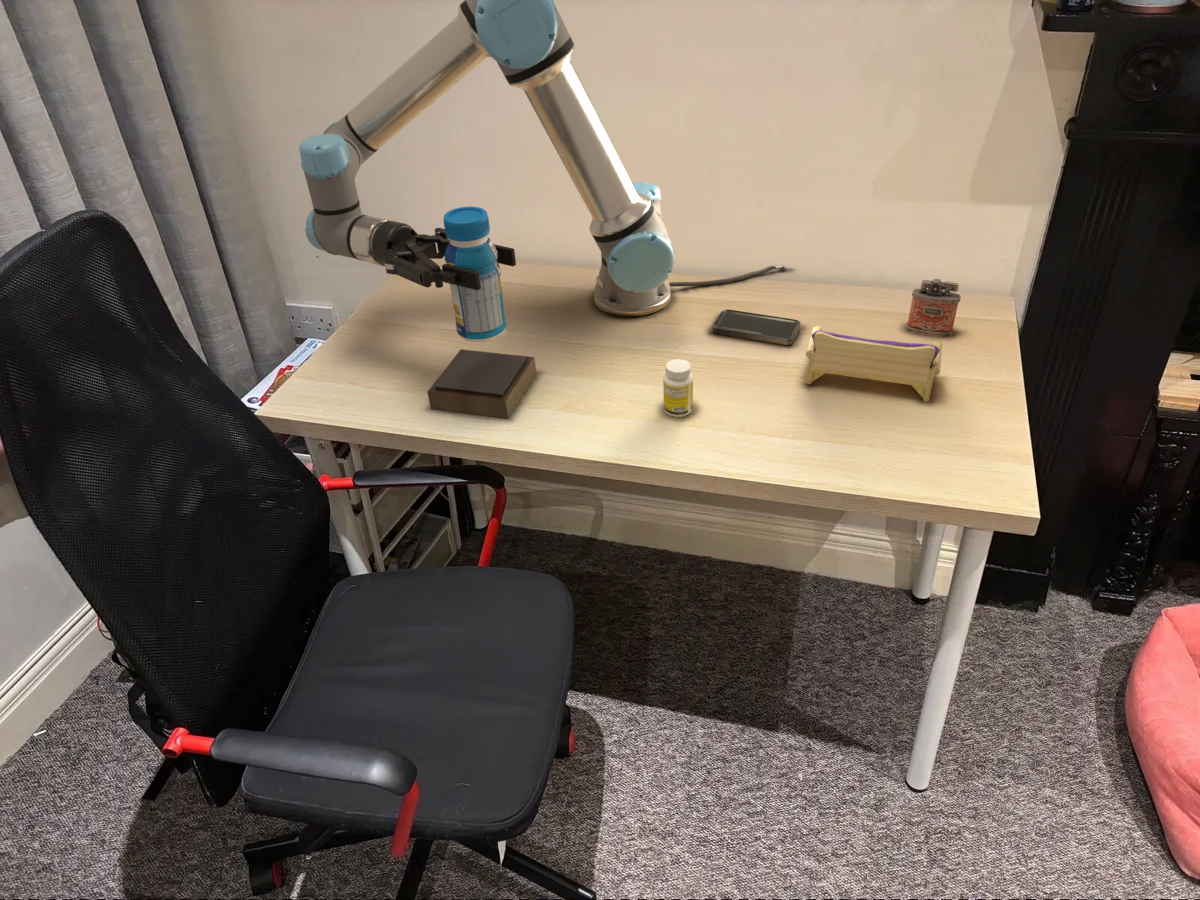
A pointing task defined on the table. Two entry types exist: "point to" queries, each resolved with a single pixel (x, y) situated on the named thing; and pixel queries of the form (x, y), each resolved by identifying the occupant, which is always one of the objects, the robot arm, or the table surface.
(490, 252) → the beverage bottle
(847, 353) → the toy sofa
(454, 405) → the walnut stand
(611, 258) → the robot arm
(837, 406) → the table surface
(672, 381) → the supplement bottle
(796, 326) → the phone
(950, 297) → the lighter
